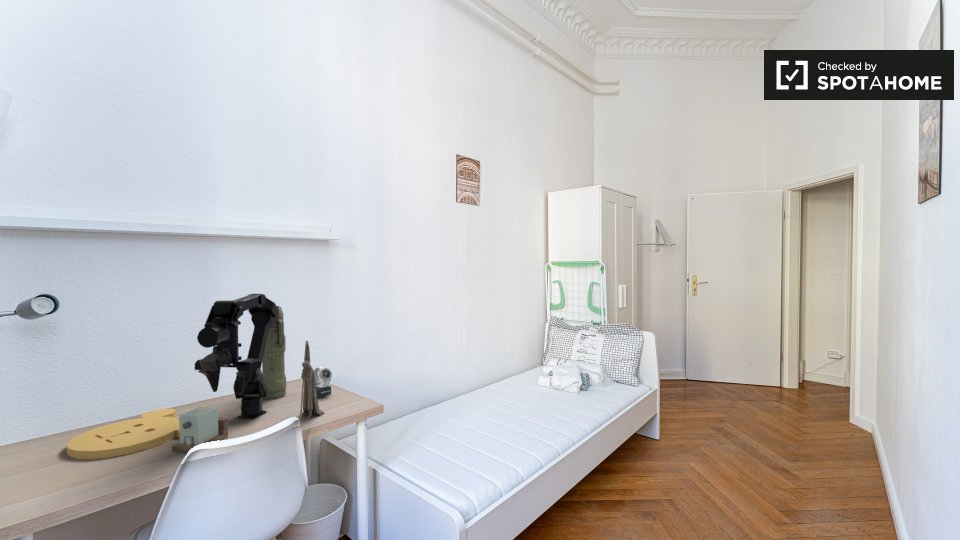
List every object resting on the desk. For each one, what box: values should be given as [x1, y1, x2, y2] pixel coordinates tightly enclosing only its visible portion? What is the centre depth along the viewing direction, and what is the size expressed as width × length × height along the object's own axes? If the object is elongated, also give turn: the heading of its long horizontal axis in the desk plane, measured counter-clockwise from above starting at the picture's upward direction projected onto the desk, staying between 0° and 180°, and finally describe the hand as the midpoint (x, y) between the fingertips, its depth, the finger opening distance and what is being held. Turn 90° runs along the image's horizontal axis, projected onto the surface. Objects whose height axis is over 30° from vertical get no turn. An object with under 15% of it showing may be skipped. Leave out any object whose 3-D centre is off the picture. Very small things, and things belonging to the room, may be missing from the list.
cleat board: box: [171, 417, 229, 453], centre depth 122 cm, size 11×8×6 cm
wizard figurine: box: [299, 340, 325, 419], centre depth 146 cm, size 10×8×25 cm
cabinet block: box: [178, 406, 219, 445], centre depth 121 cm, size 8×6×8 cm
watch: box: [313, 366, 333, 399], centre depth 167 cm, size 6×8×11 cm
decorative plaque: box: [66, 408, 180, 460], centre depth 127 cm, size 31×3×30 cm
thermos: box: [261, 305, 287, 400], centre depth 167 cm, size 9×12×35 cm
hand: (228, 392), depth 131 cm, fingers open, 9 cm apart
